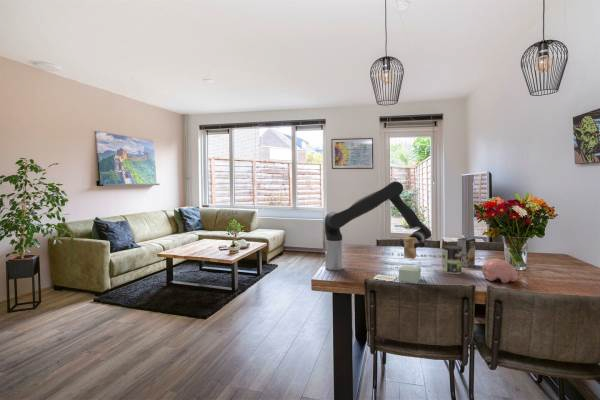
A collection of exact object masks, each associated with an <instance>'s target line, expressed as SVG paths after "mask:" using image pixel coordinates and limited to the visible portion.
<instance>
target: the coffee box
mask: <svg viewBox="0 0 600 400" xmlns="http://www.w3.org/2000/svg"><path fill="white" fill-rule="evenodd" d="M456 246H460V247H462V265H461V267H462V268H463V267H464V268H469V267H472V266H475V264H476V263H475V262H476V238H473V237H466V236H465V237H460V238H457V245H456Z"/></svg>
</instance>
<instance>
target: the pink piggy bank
mask: <svg viewBox="0 0 600 400" xmlns="http://www.w3.org/2000/svg"><path fill="white" fill-rule="evenodd" d="M481 272H482V275H483V277H484V278H485V279H486V280H489V281H490V282H494V281H496V280H500V282H501V283H502V284H507V283H509V282H515V281H517V280H518V272H517V269H516V268H515V267H514V266H513V265H512V264H511V263H509V262H508V261H507V260H503V259H500V258H490V259H489V260H487V261H485V262H484V264H483V265H482V271H481Z"/></svg>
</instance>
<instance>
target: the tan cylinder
mask: <svg viewBox="0 0 600 400" xmlns="http://www.w3.org/2000/svg"><path fill="white" fill-rule="evenodd" d="M403 240H404V247H403V258H404V259H412V260H415V259H416V257H417V248H414V244H415V243H416V238H414V237H409V236H405V237H404V238H403Z"/></svg>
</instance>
